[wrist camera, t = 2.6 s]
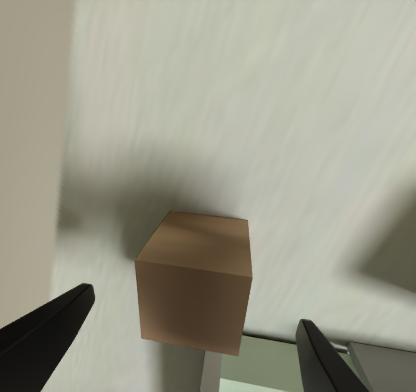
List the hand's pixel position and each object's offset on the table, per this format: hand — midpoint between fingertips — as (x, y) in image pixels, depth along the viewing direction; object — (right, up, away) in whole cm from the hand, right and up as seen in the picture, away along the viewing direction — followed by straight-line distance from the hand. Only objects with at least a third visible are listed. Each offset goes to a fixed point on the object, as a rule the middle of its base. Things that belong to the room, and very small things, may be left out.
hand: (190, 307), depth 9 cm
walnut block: (+1, +2, +4) cm, 4 cm away
